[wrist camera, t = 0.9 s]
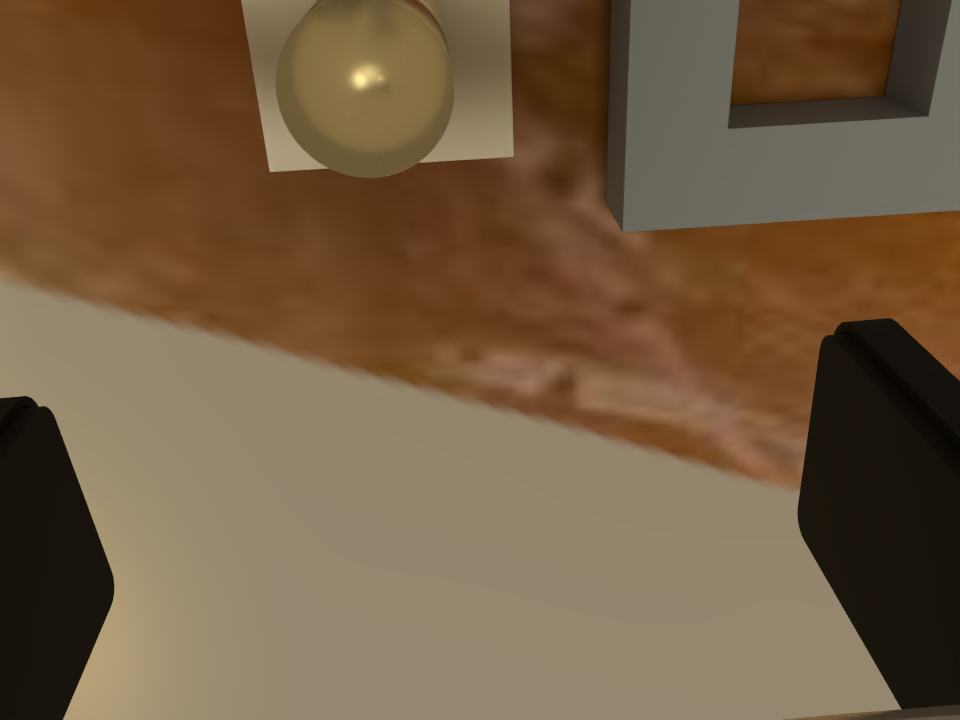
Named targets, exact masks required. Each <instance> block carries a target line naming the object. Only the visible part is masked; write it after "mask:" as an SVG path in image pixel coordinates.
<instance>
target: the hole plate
mask: <svg viewBox="0 0 960 720" xmlns="http://www.w3.org/2000/svg"><path fill="white" fill-rule="evenodd" d="M739 1H740V0H611V24H610V64H609V103H608V143H607V182H606V204H607V206H608V208H609V209H610V211H611V213H612V214H613V216H614V218H615V220H616V221H617V223H618V225H619V227H620V228H621V230H622V232H634V231H650V230H665V229H680V228H695V227H711V226H726V225H741V224H756V223H772V222H787V221H802V220H817V219H833V218H848V217H863V216H878V215H894V214H909V213H924V212H939V211H955V210H960V0H902V1H901V6H900V12H899V18H898V23H897V29H896V35H895V40H894V46H893V52H892V57H891V63H890V69H889V74H888V80H887V86H886V91H885V96H879V97H862V98H846V99H830V100H813V101H797V102H781V103H765V104H748V105H732V106H730V98H731V88H732V77H733V66H734V55H735V44H736V33H737V22H738V12H739Z"/></svg>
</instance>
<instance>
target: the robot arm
mask: <svg viewBox="0 0 960 720" xmlns="http://www.w3.org/2000/svg"><path fill="white" fill-rule="evenodd" d="M798 523H799V528H800V531H801V534H802V537H803V539H804V541H805V542H806V544H807V546H808V548H809V549H810V551H811V553H812V555H813V556H814V558H815V560H816V562H817V563H818V565H819V567H820V568H821V570H822V572H823V574H824V576H825V577H826V579H827V581H828V582H829V584H830V586H831V588H832V589H833V591H834V593H835V594H836V596H837V598H838V600H839V602H840V603H841V605H842V607H843V608H844V610H845V612H846V614H847V615H848V617H849V619H850V621H851V622H852V624H853V626H854V628H855V629H856V631H857V633H858V634H859V636H860V638H861V639H862V641H863V643H864V645H865V647H866V648H867V650H868V652H869V653H870V655H871V657H872V659H873V660H874V662H875V664H876V666H877V667H878V669H879V671H880V672H881V674H882V676H883V678H884V680H885V681H886V683H887V685H888V686H889V688H890V690H891V692H892V693H893V695H894V697H895V699H896V700H897V702H898V704H899V706H900V707H901V709H902V710H890V711H876V712H863V713H850V714H839V715H828V716H818V717H807V718H796V719H785V720H960V381H959V380H958V379H957V378H956V377H955V376H954V375H952V374H951V373H950V372H949V371H948V370H947V369H946V368H945V367H944V366H943V365H942V364H941V363H940V362H939V361H938V360H936V359H935V358H934V357H933V356H932V355H931V354H930V353H929V352H928V351H927V350H926V349H925V348H924V347H923V346H922V345H920V344H919V343H918V342H917V341H916V340H915V339H914V338H913V337H912V336H911V335H910V334H909V333H908V332H907V331H906V330H905V329H903V328H902V327H901V326H900V325H899V324H898V323H897V322H896V321H894V320H893V319H891V318H886V319H874V320H863V321H852V322H842V323H841V324H840V325H838V327H837V329H836V331H835V333H834V335H827V336H826V337H824V338H823V340H822V342H821V346H820V352H819V359H818V366H817V373H816V381H815V388H814V395H813V402H812V409H811V417H810V424H809V431H808V438H807V445H806V453H805V460H804V467H803V474H802V481H801V489H800V496H799V504H798ZM113 596H114V579H113V574H112V571H111V568H110V566H109V563H108V560H107V557H106V555H105V552H104V549H103V546H102V544H101V541H100V539H99V536H98V533H97V530H96V528H95V525H94V522H93V519H92V517H91V514H90V512H89V509H88V506H87V503H86V500H85V498H84V495H83V492H82V490H81V487H80V484H79V482H78V479H77V476H76V473H75V471H74V468H73V466H72V463H71V460H70V457H69V455H68V452H67V449H66V446H65V444H64V441H63V438H62V436H61V433H60V430H59V428H58V425H57V422H56V420H55V417H54V415H53V414H52V412H51V410H50V409H49V408H47V407H45V406H43V407H38V405H37V404H36V402H35V401H34V400H33V399H32V398H30V397H27V396H22V397H11V398H0V720H63V718H64V716H65V713H66V711H67V709H68V706H69V704H70V701H71V699H72V697H73V694H74V692H75V690H76V687H77V685H78V683H79V680H80V678H81V676H82V673H83V671H84V669H85V666H86V664H87V661H88V659H89V657H90V654H91V652H92V650H93V647H94V645H95V643H96V640H97V638H98V635H99V633H100V631H101V628H102V626H103V624H104V621H105V619H106V616H107V614H108V612H109V610H110V607H111V604H112V601H113Z"/></svg>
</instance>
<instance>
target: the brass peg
mask: <svg viewBox="0 0 960 720" xmlns="http://www.w3.org/2000/svg"><path fill="white" fill-rule="evenodd" d="M275 86H276V97H277V101H278V106H279V110H280V112H281V115H282V118H283V121H284V122H285V124H286V126H287V128H288V130H289V132H290V133H291V135H292V136H293V138H294V139H295V141H296V142H297V143H298V144H299V145H300V147H301V148H302V149H303V150H304V151H305V152H306V153H307V154H308V155H310V156H311V157H312V158H313V159H315V160H316V161H317V162H319V163H320V164H322V165H324V166H326V167H327V168H329V169H331V170H334V171H336V172H339V173H341V174H345V175H349V176H353V177H360V178H379V177H386V176H390V175H394V174H397V173H400V172H402V171H405V170H407V169H409V168H410V167H412V166H414V165H416V164H417V163H418V162H420V161H421V160H422V159H424V158H425V157H426V156H427V155H428V154H429V153H430V152H431V151H432V150H433V149H434V148H435V146H436V145H437V144H438V142H439V141H440V139H441V138H442V136H443V134H444V132H445V131H446V128H447V126H448V123H449V121H450V117H451V114H452V110H453V103H454V81H453V73H452V67H451V61H450V55H449V49H448V43H447V37H446V31H445V26H444V21H443V17H442V13H441V11H440V8H439V6H438V4H437V2H436V0H317V1H316V3H315V4H314V5H313V6H312V7H311V8H310V10H309V11H308V12H307V13H306V14H305V16H304V17H303V18H302V19H301V20H300V21H299V23H298V24H297V25H296V26H295V27H294V28H293V30H292V31H291V33H290V34H289V36H288V37H287V39H286V41H285V43H284V45H283V47H282V50H281V53H280V56H279V59H278V63H277V69H276V83H275Z"/></svg>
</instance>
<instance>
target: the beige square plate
mask: <svg viewBox="0 0 960 720" xmlns="http://www.w3.org/2000/svg"><path fill="white" fill-rule="evenodd" d="M316 1H317V0H241V2H242V8H243V14H244V20H245V26H246V32H247V38H248V44H249V50H250V56H251V62H252V68H253V74H254V80H255V86H256V92H257V98H258V104H259V110H260V116H261V122H262V128H263V134H264V140H265V146H266V152H267V158H268V164H269V170H270V172H279V171H295V170H311V169H327V167H326V166H324V165H322V164H320V163H319V162H317V161H316V160H315V159H313V158H312V157H311V156H310V155H308V154H307V153H306V152H305V151H304V150H303V149H302V148H301V147H300V145H299V144H298V143H297V142H296V141H295V139H294V138H293V136H292V135H291V133H290V132H289V130H288V128H287V126H286V124H285V122H284V121H283V118H282V115H281V112H280V110H279V106H278V101H277V97H276V86H275V83H276V69H277V63H278V59H279V56H280V53H281V50H282V47H283V45H284V43H285V41H286V39H287V37H288V36H289V34H290V33H291V31H292V30H293V28H294V27H295V26H296V25H297V24H298V23H299V21H300V20H301V19H302V18H303V17H304V16H305V14H306V13H307V12H308V11H309V10H310V8H311V7H312V6H313V5H314V4H315V3H316ZM436 2H437V4H438V6H439V8H440V11H441V13H442V17H443V21H444V26H445V31H446V37H447V43H448V49H449V55H450V61H451V67H452V73H453V81H454V103H453V110H452V114H451V117H450V121H449V123H448V126H447V128H446V131H445V132H444V134H443V136H442V138H441V139H440V141H439V142H438V144H437V145H436V146H435V148H434V149H433V150H432V151H431V152H430V153H429V154H428V155H427V156H426V157H425V158H424V159H422V160H421V161H420V162H418V163H422V162H438V161H454V160H470V159H486V158H502V157H514V148H513V112H512V75H511V39H510V3H509V0H436Z"/></svg>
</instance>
